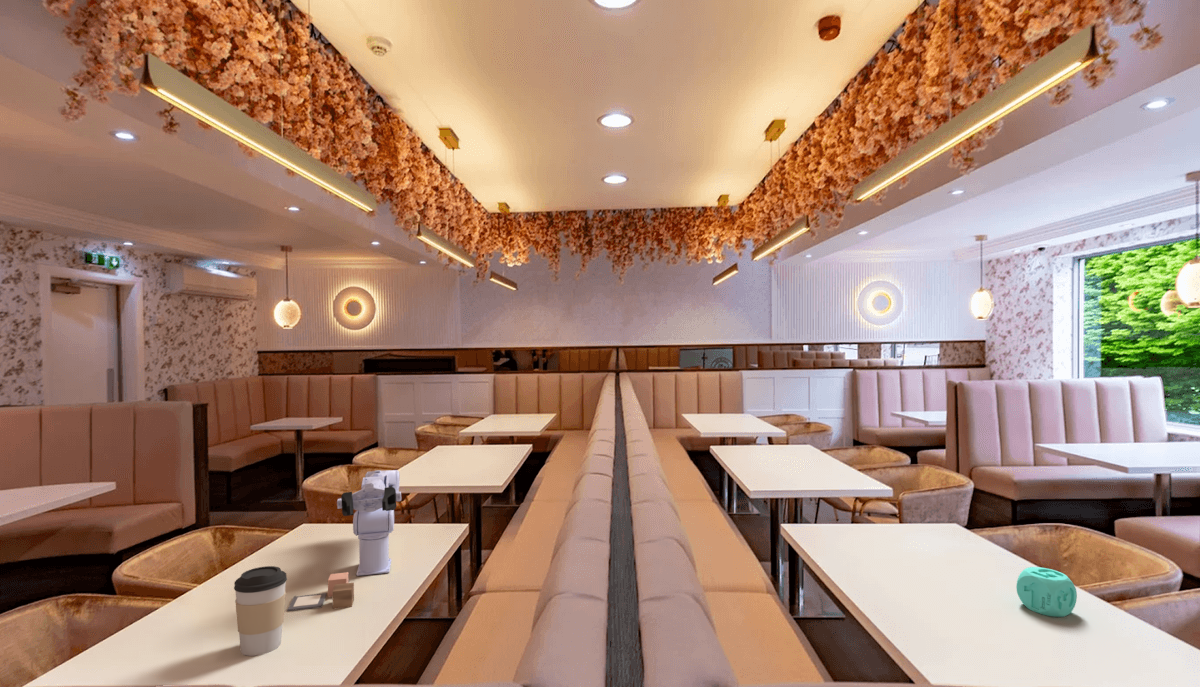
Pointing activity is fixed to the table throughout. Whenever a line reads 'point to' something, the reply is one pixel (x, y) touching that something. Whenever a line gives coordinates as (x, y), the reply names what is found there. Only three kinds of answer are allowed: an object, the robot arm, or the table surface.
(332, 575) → the terracotta block
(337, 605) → the walnut block
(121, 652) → the table surface
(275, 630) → the coffee cup
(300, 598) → the mat
